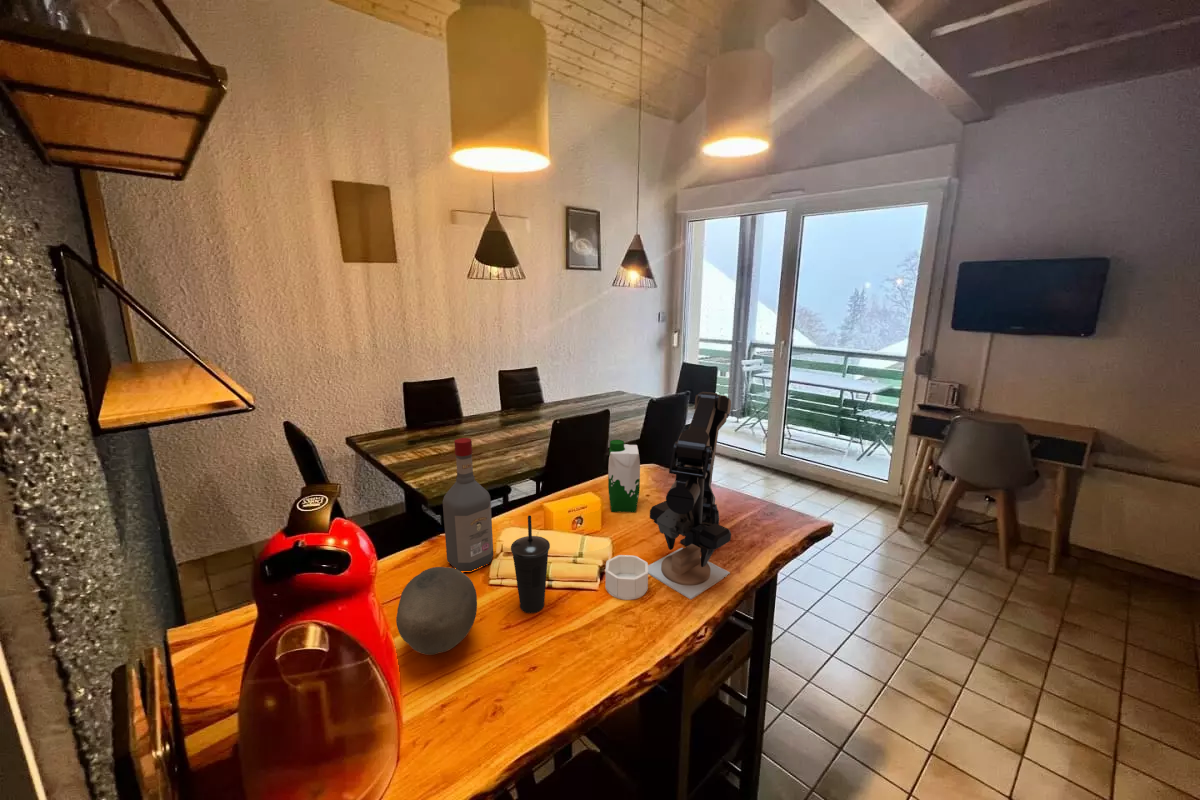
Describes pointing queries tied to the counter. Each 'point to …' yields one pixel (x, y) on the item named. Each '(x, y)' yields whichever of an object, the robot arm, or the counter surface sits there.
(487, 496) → the liquor
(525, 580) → the drinking cup
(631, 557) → the bowl
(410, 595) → the dark grey round stone
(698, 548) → the lid
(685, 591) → the mat
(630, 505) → the milk carton
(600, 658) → the counter surface
